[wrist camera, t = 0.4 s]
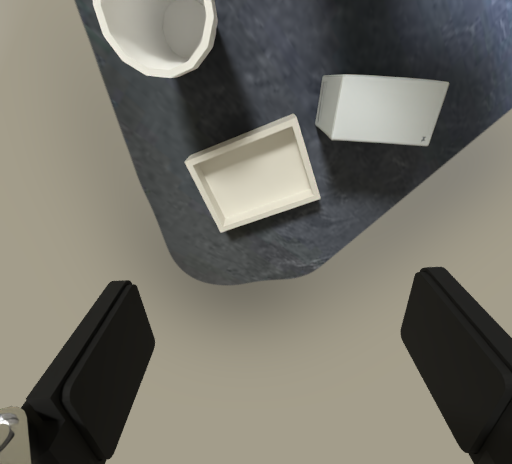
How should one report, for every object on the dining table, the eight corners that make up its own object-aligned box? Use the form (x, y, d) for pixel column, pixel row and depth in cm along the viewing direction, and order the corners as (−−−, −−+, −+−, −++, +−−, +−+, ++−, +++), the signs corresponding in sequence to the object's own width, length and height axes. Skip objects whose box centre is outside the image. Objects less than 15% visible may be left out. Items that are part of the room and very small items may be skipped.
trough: (190, 155, 41) (184, 161, 38) (293, 113, 38) (296, 117, 35) (223, 222, 46) (220, 232, 43) (316, 189, 43) (320, 198, 40)
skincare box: (404, 78, 36) (453, 80, 27) (389, 131, 39) (428, 149, 30) (322, 72, 36) (343, 72, 27) (313, 126, 39) (330, 143, 30)
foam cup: (244, 44, 34) (236, 31, 23) (185, 91, 37) (152, 100, 26) (193, -44, 31) (155, -111, 19) (132, 15, 33) (66, -13, 22)
